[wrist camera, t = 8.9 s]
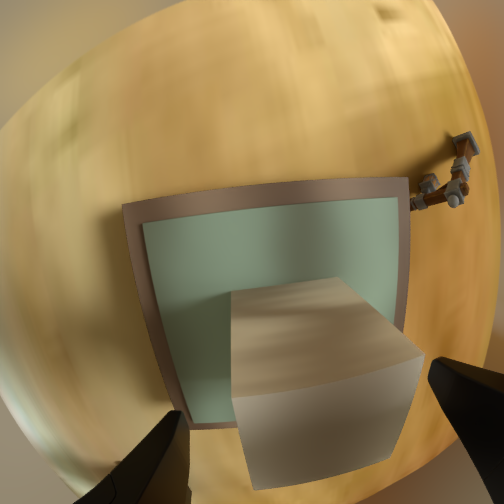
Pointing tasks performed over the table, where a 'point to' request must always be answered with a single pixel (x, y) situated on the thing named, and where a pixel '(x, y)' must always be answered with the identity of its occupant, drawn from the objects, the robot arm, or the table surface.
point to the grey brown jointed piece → (457, 185)
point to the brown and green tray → (257, 267)
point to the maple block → (316, 381)
